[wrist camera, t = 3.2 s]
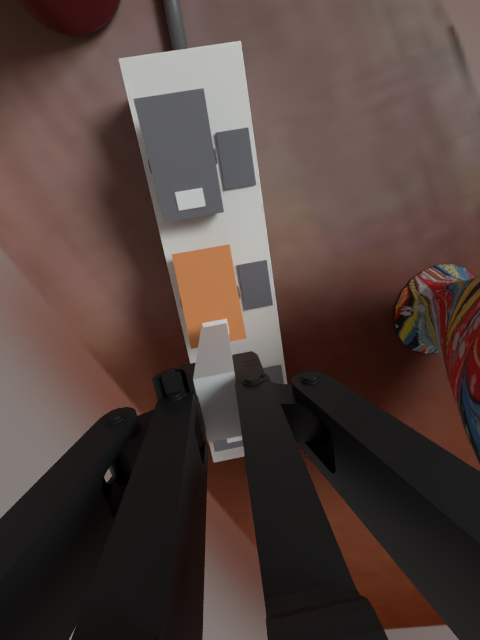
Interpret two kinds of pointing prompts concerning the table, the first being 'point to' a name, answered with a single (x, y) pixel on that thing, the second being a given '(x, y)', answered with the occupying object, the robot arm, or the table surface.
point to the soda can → (71, 14)
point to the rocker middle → (209, 291)
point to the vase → (447, 333)
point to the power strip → (234, 179)
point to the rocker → (180, 153)
